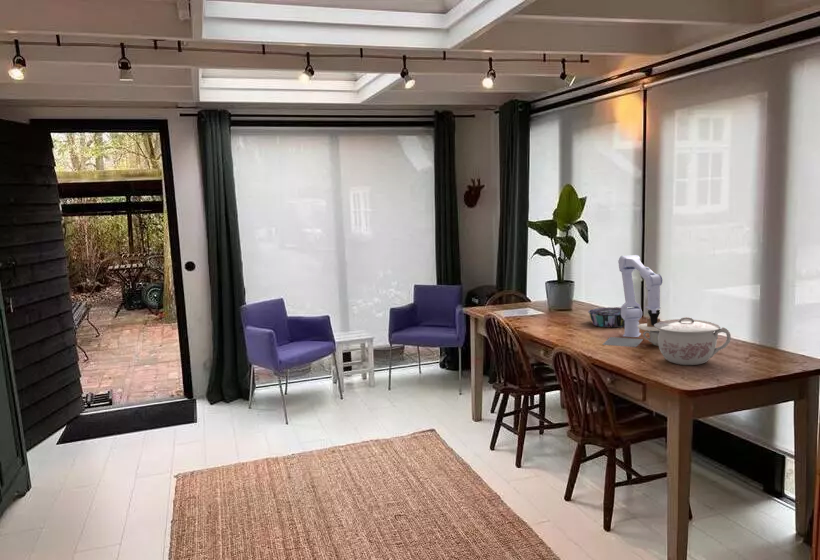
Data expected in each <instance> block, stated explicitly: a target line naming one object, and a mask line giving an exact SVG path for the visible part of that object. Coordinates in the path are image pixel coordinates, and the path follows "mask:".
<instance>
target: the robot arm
mask: <svg viewBox="0 0 820 560" xmlns="http://www.w3.org/2000/svg"><path fill="white" fill-rule="evenodd" d="M617 261H618V268H619V272H620V273H621V278H622V284H623V285H622V286H623V292H624V301H625V302H624V303H623V304H622V305H621V306H620V308H621V316H622V318H623V320H625V327H624V333H623V335H622V337H624V338H630V337H631V338H639V337H641V334H642V333H641V332H640V329H639V328H638V325H639V324H640V322H639V321H640V320H641V318H642V316H643V311H642V307H641V304H640V303H638V302H637V301H636V296H635V289H634V288H635V287H634V281H633V275H632V273H633V272H634V271H636V270H637V271H638V272H639V275H640V277H641V278H642V279H644V283H645V285H646V290H647V306H645V307H644V308H645V309H648V310H647V314H648V316H649V318H650V319H651V324H652V325H654V324H656V323H657V319H658V318H659V316H660V313H661V312H660V310H661V286H662V284H663V277H662V275H661V274H660V273H655V272H654V271H653V270H652V269H651V268H650V267H649V266H645V265H644V264H643V262H641V257H640V256H639V255H638V254H633V255H632V254H631V255H621V256H620V257H619V258H618V260H617Z"/></svg>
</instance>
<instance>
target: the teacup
mask: <svg viewBox="0 0 820 560" xmlns="http://www.w3.org/2000/svg"><path fill="white" fill-rule="evenodd" d="M659 332H660V331H647V330H644V332H643V334H642V336H643V338H644V339H646V340H647V341H648V342H649V343H651V344H652V345H653V346H657V347H659V345H658V341H657V335H658V333H659ZM646 334H648V335H649V337H647V336H646Z"/></svg>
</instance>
